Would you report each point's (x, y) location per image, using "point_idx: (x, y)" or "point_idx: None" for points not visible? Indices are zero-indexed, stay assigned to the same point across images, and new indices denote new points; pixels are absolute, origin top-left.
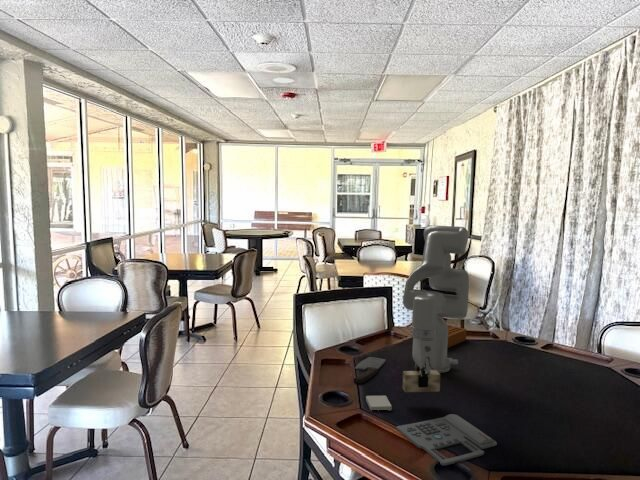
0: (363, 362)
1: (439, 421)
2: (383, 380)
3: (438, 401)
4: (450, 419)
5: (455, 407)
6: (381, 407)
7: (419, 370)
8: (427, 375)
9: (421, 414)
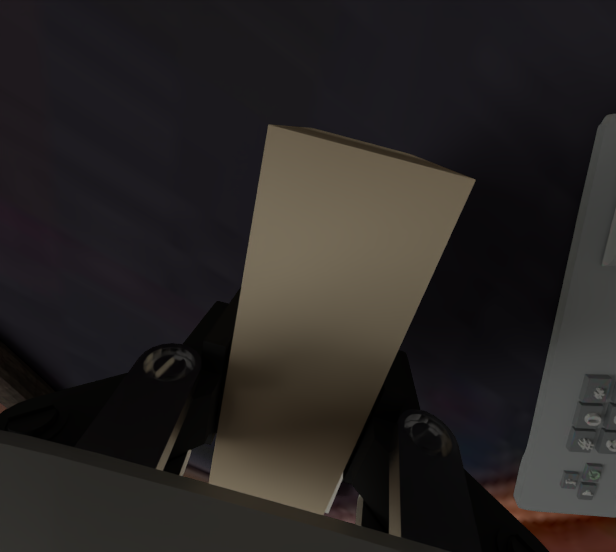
0: None
1: (608, 308)
2: (22, 295)
3: (343, 115)
4: None
5: (484, 25)
6: (341, 478)
7: (214, 412)
8: (473, 478)
9: (455, 333)
